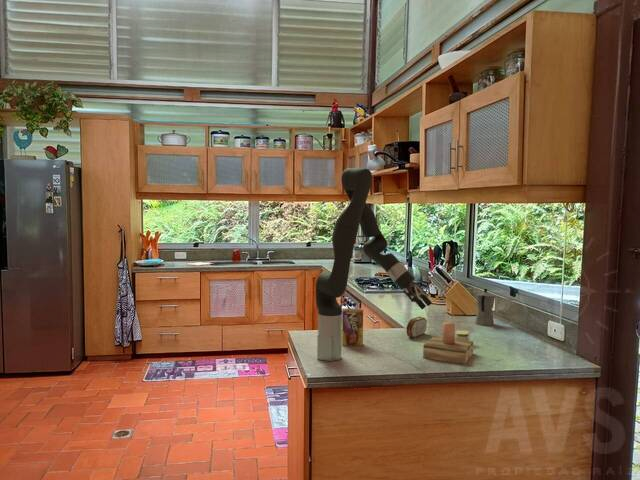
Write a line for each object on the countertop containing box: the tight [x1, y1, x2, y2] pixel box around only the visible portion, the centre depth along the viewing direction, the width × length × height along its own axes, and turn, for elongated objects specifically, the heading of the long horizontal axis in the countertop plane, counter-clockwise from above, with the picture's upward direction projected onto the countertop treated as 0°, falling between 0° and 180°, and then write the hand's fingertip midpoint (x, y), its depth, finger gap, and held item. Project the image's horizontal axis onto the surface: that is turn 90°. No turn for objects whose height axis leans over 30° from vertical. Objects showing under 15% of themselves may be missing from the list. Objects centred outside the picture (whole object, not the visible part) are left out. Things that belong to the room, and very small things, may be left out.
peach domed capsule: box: [442, 321, 456, 344], centre depth 204 cm, size 5×5×8 cm
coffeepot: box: [474, 288, 496, 327], centre depth 259 cm, size 15×9×18 cm, turn 153°
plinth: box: [422, 335, 474, 365], centre depth 204 cm, size 16×16×5 cm
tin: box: [406, 316, 428, 339], centre depth 234 cm, size 15×3×8 cm, turn 141°
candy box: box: [342, 307, 364, 346], centre depth 218 cm, size 9×4×15 cm, turn 90°
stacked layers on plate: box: [455, 330, 470, 341], centre depth 221 cm, size 10×9×6 cm
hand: (427, 306), depth 207 cm, fingers open, 8 cm apart
